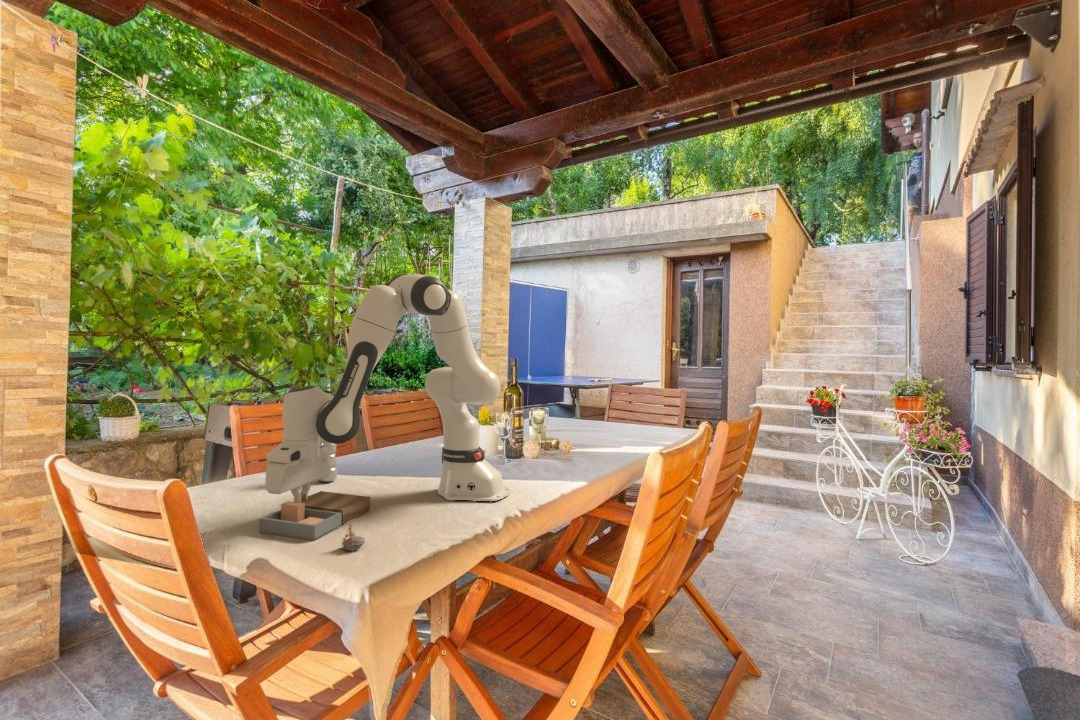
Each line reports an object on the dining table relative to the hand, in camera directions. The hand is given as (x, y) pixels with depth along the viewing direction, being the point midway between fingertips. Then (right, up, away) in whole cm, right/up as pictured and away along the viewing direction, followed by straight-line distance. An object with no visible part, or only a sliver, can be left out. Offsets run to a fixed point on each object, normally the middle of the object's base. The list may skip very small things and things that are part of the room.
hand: (300, 501), depth 138 cm
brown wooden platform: (+6, -5, +6) cm, 9 cm away
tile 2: (+6, -3, -8) cm, 11 cm away
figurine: (+19, -7, -17) cm, 26 cm away
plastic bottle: (-8, -4, +37) cm, 39 cm away
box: (+3, -5, -6) cm, 8 cm away
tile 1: (0, -2, -2) cm, 3 cm away
